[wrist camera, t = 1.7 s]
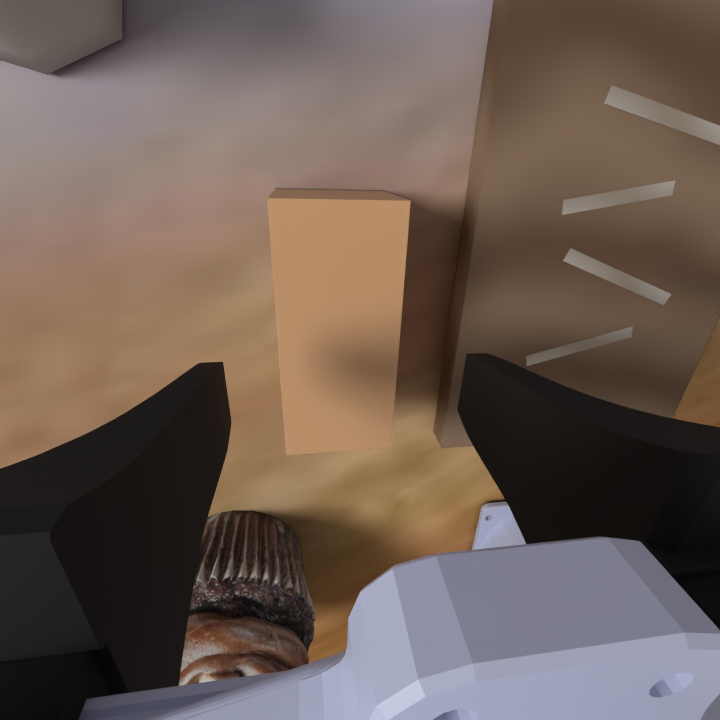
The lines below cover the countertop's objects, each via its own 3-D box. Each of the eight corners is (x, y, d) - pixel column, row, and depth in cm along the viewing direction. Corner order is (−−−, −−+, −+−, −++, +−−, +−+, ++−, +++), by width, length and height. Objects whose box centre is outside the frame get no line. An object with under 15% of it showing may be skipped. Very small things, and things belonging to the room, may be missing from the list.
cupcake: (343, 540, 26) (365, 732, 18) (252, 616, 29) (231, 819, 20) (222, 474, 23) (172, 677, 14) (128, 568, 25) (34, 793, 16)
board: (645, 418, 25) (665, 433, 24) (433, 431, 23) (441, 448, 22) (819, 13, 16) (867, 0, 15) (496, -19, 14) (517, -38, 13)
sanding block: (372, 389, 22) (391, 448, 17) (288, 392, 21) (285, 455, 17) (382, 189, 17) (410, 201, 13) (276, 187, 16) (266, 198, 12)
